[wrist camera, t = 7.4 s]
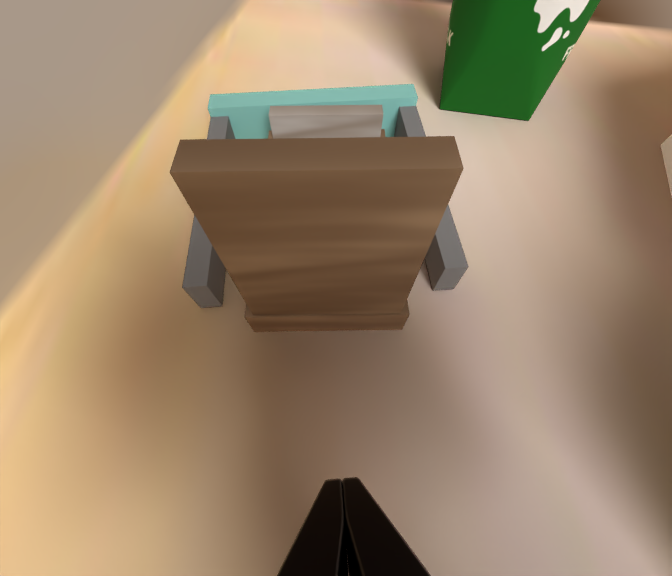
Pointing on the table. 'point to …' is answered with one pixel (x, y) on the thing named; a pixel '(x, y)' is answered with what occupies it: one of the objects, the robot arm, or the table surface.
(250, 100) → the bay
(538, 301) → the table surface
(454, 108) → the milk carton
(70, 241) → the table surface
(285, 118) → the wooden drawer
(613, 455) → the table surface
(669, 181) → the white block
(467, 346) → the table surface
